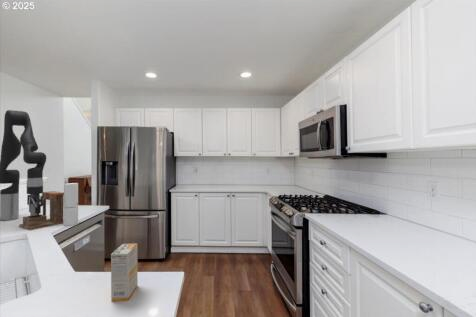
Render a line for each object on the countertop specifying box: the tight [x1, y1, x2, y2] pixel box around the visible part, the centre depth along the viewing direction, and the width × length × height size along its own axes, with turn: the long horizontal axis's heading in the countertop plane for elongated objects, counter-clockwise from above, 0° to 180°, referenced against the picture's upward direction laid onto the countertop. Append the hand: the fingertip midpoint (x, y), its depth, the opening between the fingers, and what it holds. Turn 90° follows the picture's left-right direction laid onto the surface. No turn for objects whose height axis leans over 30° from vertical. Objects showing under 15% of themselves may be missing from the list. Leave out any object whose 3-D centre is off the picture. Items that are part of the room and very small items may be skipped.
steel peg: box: [29, 204, 39, 218], centre depth 144 cm, size 4×4×12 cm
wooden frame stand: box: [18, 190, 64, 231], centre depth 147 cm, size 15×18×19 cm
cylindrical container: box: [63, 182, 79, 227], centre depth 148 cm, size 7×7×25 cm
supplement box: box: [110, 243, 139, 302], centre depth 70 cm, size 8×5×13 cm, turn 5°
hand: (34, 212), depth 144 cm, fingers open, 8 cm apart
